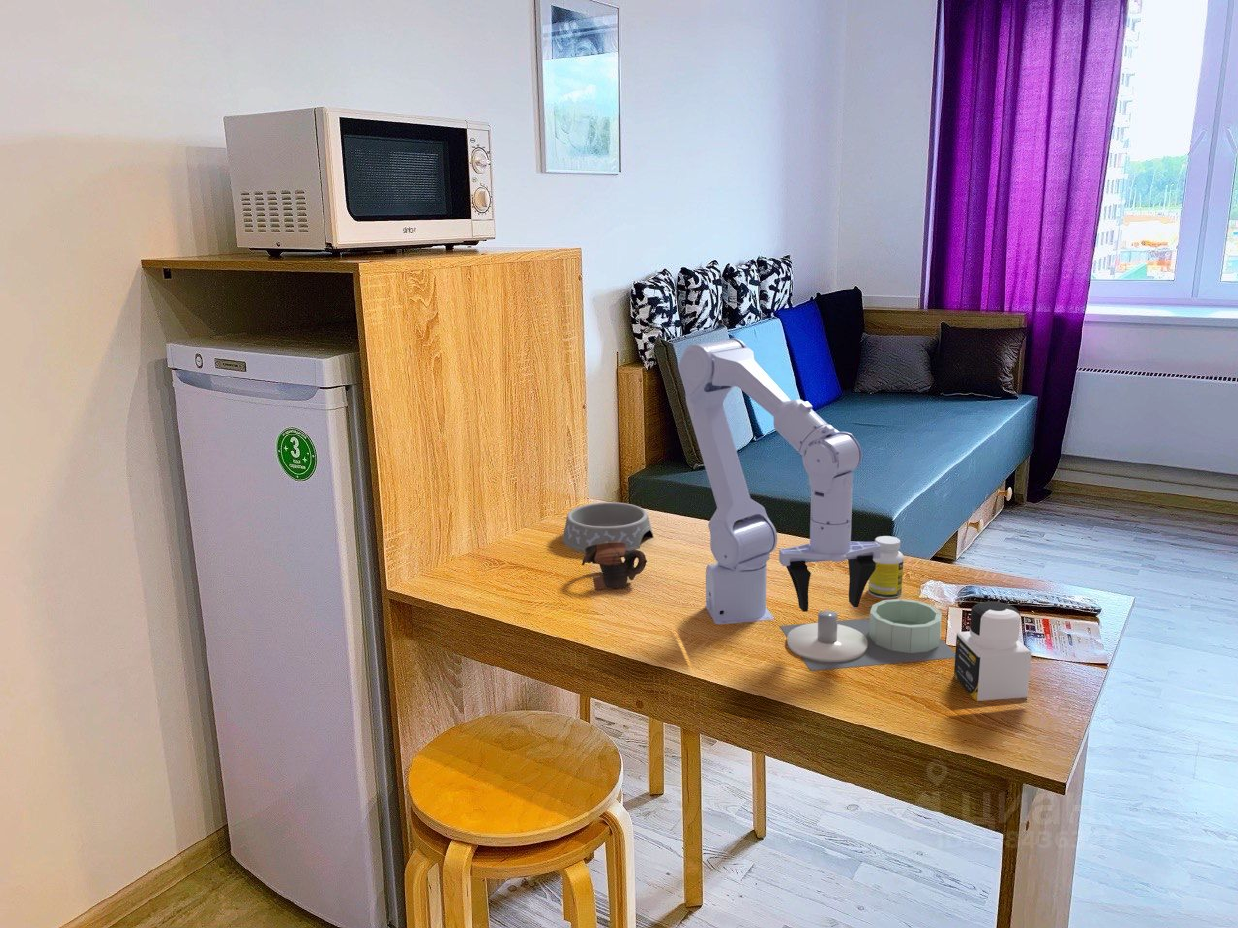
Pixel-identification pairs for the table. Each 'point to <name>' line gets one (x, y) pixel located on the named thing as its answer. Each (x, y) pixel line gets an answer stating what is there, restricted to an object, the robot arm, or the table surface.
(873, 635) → the bowl
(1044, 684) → the table surface
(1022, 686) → the medicine bottle
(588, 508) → the dog bowl
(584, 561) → the pottery mug
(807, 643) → the lid
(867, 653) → the mat
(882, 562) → the supplement bottle
